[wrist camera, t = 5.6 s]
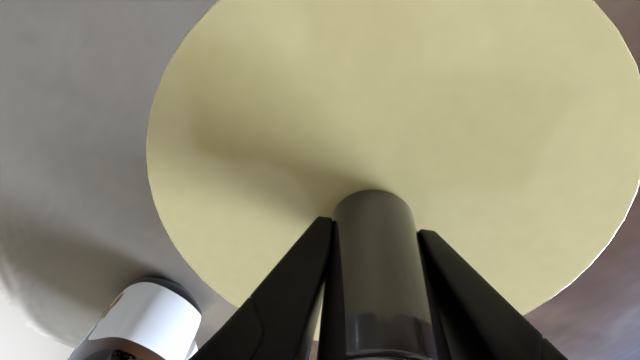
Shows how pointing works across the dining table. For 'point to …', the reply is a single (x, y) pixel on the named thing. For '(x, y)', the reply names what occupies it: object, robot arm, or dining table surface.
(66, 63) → the dining table surface
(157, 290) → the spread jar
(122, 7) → the dining table surface
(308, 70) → the pot lid
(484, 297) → the robot arm
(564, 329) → the dining table surface
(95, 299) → the dining table surface
